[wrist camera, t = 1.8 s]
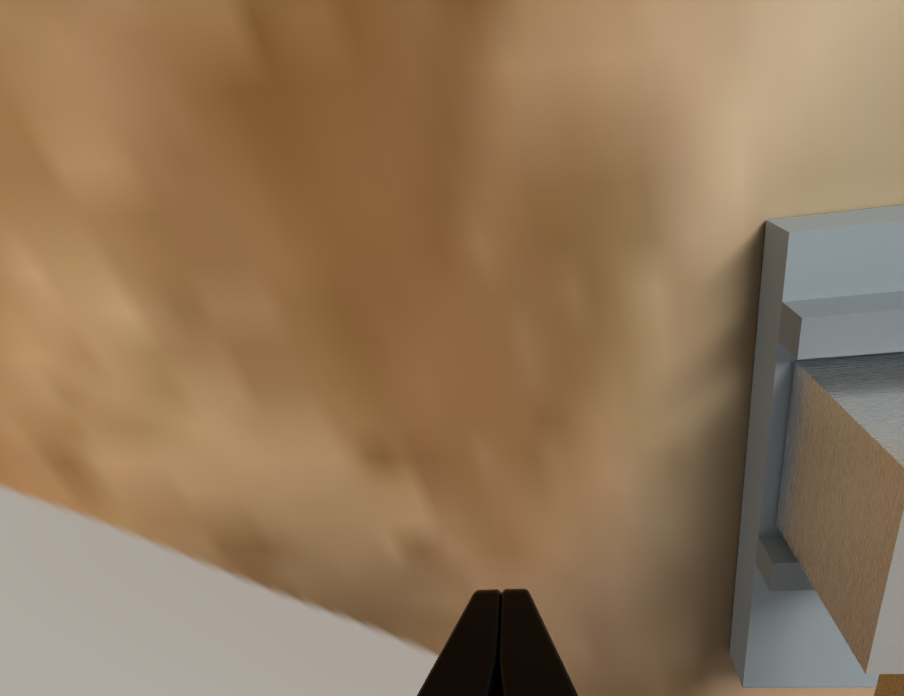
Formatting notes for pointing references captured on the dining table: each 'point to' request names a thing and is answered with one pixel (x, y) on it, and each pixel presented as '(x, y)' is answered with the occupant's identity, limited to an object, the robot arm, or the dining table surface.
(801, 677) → the board
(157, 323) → the dining table surface
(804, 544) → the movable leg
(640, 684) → the dining table surface
